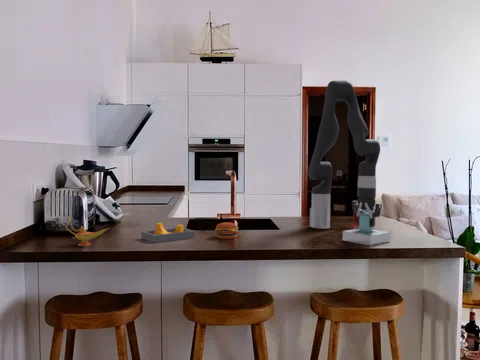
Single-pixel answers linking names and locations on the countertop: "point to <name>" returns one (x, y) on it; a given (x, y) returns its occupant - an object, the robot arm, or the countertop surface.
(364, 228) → the teal cylinder
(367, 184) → the robot arm
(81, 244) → the magic lamp
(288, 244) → the countertop surface
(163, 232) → the pipe clamp
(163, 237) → the tray
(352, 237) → the housing
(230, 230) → the hamburger
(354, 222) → the canned food
